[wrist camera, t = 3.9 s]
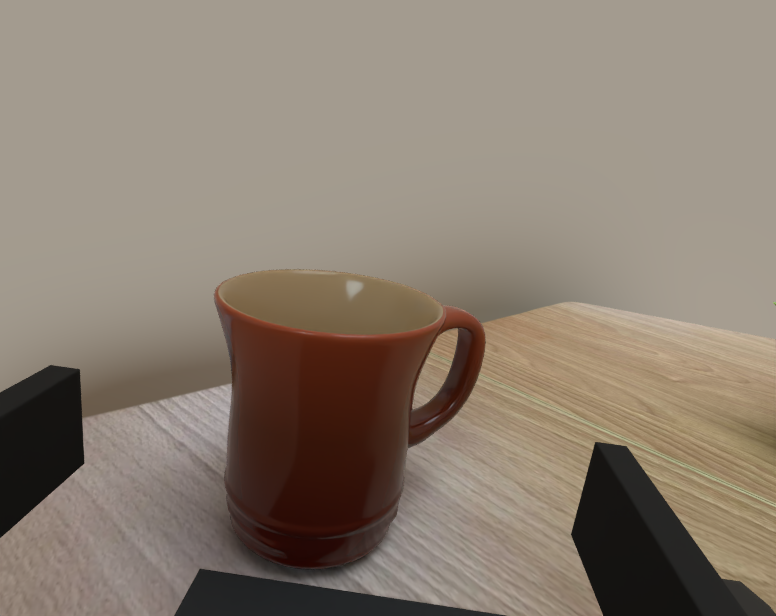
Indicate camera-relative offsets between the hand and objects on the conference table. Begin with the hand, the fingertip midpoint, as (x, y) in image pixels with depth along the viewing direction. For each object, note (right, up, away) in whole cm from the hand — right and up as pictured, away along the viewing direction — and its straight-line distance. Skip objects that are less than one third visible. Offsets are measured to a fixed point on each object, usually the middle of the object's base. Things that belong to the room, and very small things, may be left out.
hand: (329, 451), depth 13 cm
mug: (-1, -6, +12) cm, 13 cm away
